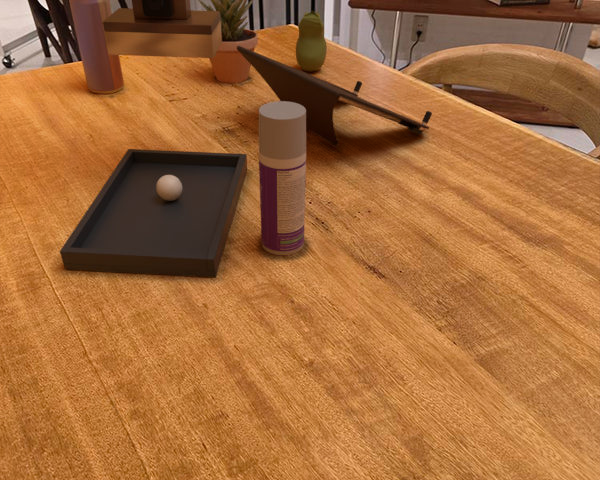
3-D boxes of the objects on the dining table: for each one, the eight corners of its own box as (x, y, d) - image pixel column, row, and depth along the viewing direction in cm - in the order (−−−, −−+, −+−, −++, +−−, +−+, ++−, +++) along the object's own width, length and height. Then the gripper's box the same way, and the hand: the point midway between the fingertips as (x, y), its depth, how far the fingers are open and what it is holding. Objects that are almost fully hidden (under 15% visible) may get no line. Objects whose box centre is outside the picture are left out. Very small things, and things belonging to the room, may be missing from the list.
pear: (326, 66, 110) (329, 8, 104) (324, 76, 106) (326, 16, 100) (297, 65, 111) (297, 7, 105) (293, 74, 107) (294, 15, 100)
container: (255, 236, 66) (250, 104, 56) (294, 228, 67) (295, 97, 58) (270, 259, 62) (267, 122, 53) (310, 250, 64) (315, 115, 54)
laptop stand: (422, 179, 89) (450, 120, 86) (317, 150, 73) (347, 76, 69) (326, 128, 103) (347, 75, 100) (220, 94, 87) (241, 30, 83)
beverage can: (98, 97, 97) (77, -3, 87) (82, 87, 100) (60, -10, 91) (131, 89, 100) (114, -9, 90) (114, 79, 103) (96, -16, 94)
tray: (64, 269, 60) (59, 251, 59) (131, 164, 79) (128, 148, 77) (215, 277, 60) (214, 259, 58) (247, 170, 78) (246, 153, 76)
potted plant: (258, 67, 109) (253, -91, 94) (259, 86, 102) (254, -83, 86) (203, 68, 109) (190, -92, 93) (201, 86, 101) (186, -84, 86)
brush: (108, 54, 67) (90, -41, 61) (123, 39, 71) (108, -51, 65) (213, 58, 66) (206, -38, 60) (222, 42, 71) (216, -48, 65)
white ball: (155, 204, 69) (151, 181, 67) (161, 192, 71) (158, 169, 70) (180, 206, 69) (177, 183, 67) (186, 193, 71) (183, 170, 69)
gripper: (120, -202, 61) (147, -6, 73) (64, -206, 49) (107, 31, 60) (192, -200, 61) (207, -4, 72) (154, -204, 48) (179, 33, 60)
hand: (161, 10), depth 66 cm, fingers closed on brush, 2 cm apart
